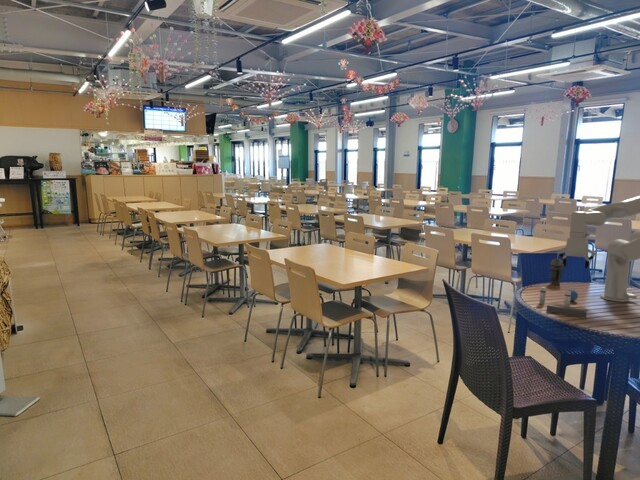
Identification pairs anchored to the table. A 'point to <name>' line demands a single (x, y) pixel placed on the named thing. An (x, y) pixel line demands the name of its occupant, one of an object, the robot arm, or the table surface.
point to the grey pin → (542, 295)
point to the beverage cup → (556, 270)
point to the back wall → (566, 311)
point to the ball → (573, 295)
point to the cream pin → (567, 299)
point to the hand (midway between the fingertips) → (575, 266)
